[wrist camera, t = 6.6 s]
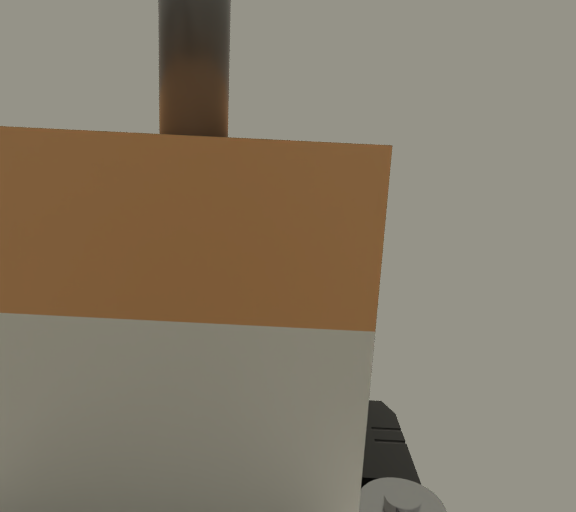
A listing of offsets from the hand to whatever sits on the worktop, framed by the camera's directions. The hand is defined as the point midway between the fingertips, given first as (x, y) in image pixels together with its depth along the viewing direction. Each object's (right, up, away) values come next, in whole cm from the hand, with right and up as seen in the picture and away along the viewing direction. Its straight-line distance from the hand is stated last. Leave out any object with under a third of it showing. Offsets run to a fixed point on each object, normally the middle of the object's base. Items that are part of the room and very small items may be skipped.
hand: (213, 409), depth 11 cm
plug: (0, -8, -1) cm, 8 cm away
